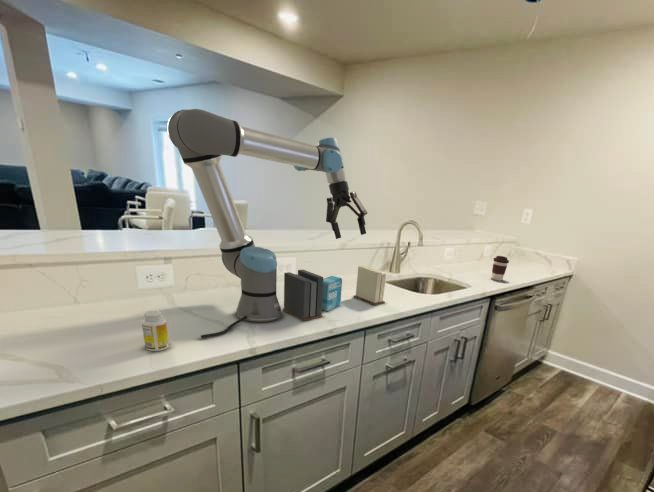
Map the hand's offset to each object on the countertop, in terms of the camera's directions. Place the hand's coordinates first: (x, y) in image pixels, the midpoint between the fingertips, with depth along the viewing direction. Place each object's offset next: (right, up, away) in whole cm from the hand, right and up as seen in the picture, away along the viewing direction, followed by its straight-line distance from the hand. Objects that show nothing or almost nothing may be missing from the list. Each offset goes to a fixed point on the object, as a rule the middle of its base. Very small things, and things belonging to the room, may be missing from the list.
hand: (350, 236), depth 159 cm
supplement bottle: (-47, -46, -53) cm, 84 cm away
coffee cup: (+85, -2, +95) cm, 128 cm away
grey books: (-17, -33, -13) cm, 39 cm away
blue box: (-9, -30, -2) cm, 31 cm away
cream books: (+6, -25, +15) cm, 30 cm away
